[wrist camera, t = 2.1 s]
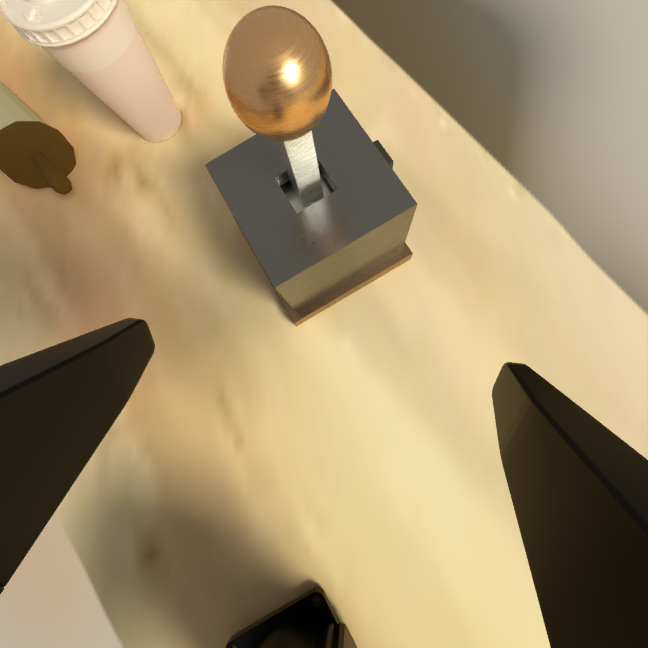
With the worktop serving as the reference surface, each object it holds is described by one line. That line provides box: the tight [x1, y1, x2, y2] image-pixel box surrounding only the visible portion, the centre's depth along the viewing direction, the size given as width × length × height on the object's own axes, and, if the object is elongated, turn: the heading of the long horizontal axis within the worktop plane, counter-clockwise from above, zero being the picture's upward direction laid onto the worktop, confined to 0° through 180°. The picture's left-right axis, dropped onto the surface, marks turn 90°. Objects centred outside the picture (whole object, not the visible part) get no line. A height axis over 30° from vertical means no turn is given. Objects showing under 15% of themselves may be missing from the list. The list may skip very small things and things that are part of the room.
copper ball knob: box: [223, 6, 334, 213], centre depth 14 cm, size 6×6×9 cm
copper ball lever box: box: [205, 89, 417, 326], centre depth 20 cm, size 9×9×7 cm
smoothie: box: [0, 0, 181, 142], centre depth 20 cm, size 6×6×14 cm
